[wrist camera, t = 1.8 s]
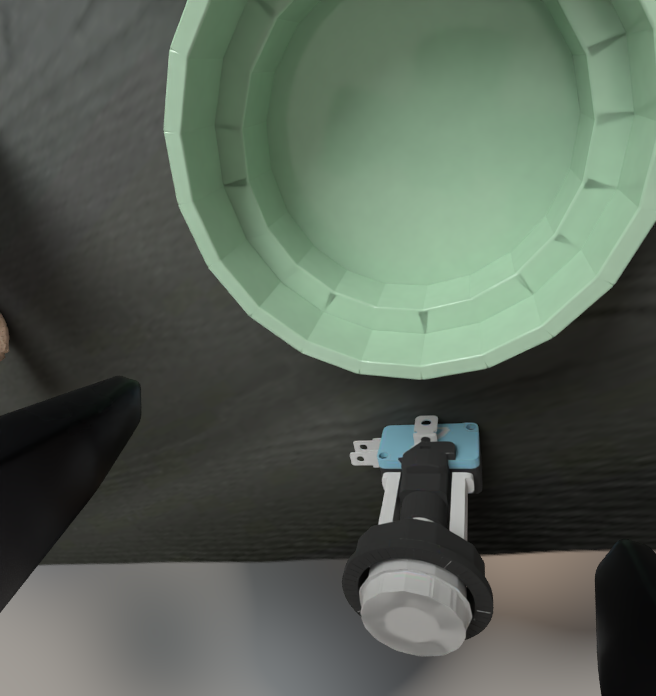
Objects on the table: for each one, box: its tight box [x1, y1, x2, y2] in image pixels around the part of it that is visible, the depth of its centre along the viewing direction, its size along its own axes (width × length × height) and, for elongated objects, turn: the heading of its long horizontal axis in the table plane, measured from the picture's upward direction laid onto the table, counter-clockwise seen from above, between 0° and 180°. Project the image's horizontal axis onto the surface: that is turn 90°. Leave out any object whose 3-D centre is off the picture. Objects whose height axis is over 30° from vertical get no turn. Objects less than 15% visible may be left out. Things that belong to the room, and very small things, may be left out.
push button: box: [342, 415, 493, 656], centre depth 21 cm, size 7×5×10 cm
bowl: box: [164, 0, 656, 380], centre depth 16 cm, size 14×14×6 cm
